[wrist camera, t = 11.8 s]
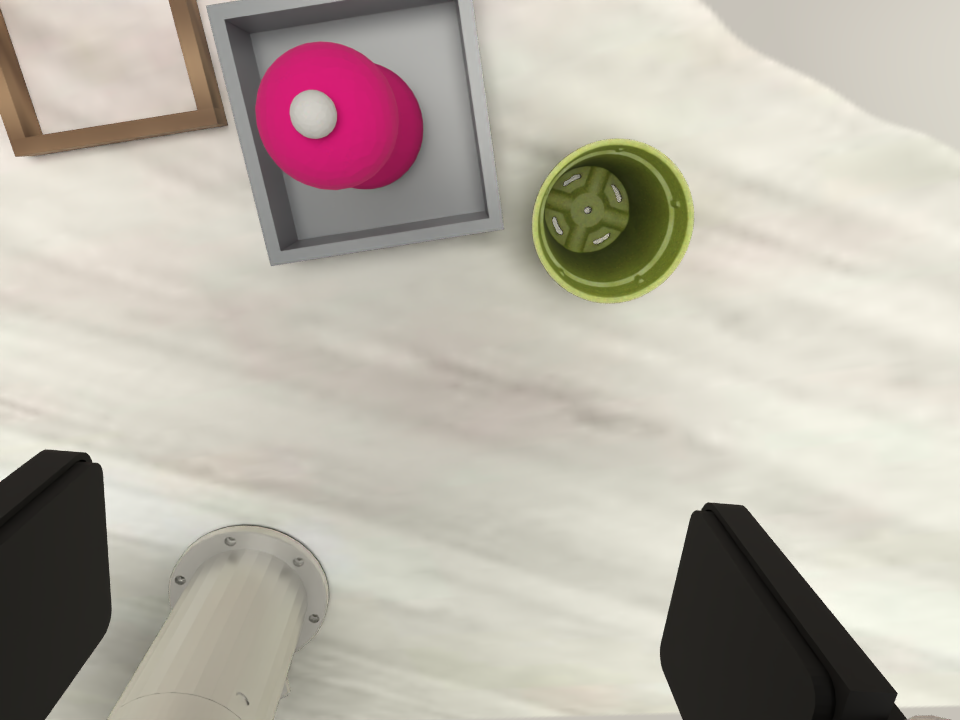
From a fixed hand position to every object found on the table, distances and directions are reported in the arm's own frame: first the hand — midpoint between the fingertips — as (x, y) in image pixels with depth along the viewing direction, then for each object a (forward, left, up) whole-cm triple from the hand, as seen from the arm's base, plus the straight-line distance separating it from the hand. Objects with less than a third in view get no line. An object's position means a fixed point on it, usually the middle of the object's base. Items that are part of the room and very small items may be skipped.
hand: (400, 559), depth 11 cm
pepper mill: (+8, +3, -38) cm, 39 cm away
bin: (+8, +3, -38) cm, 39 cm away
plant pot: (0, -10, -38) cm, 40 cm away
